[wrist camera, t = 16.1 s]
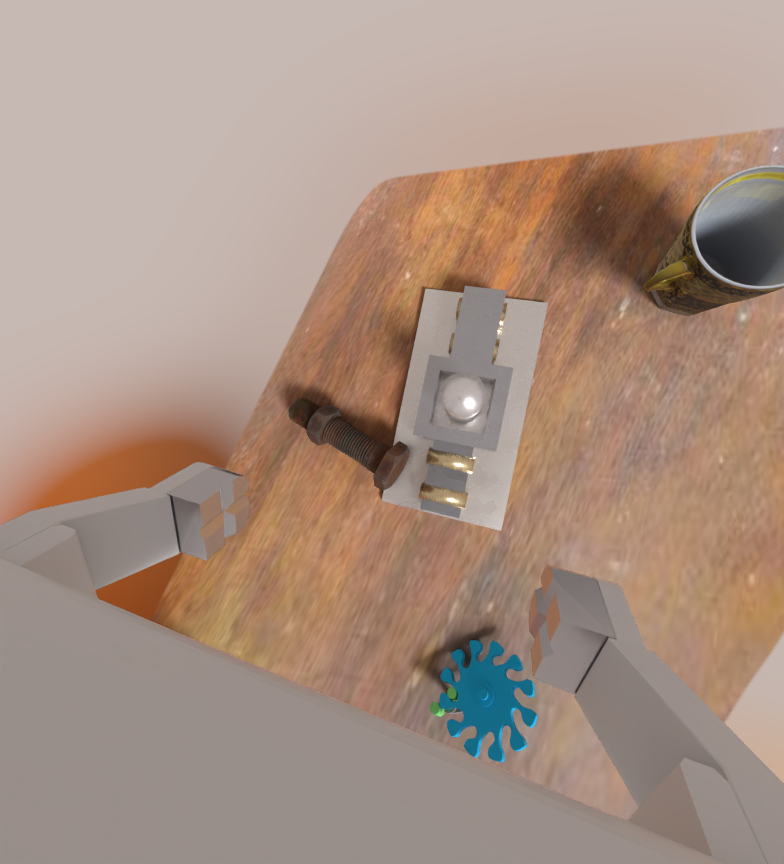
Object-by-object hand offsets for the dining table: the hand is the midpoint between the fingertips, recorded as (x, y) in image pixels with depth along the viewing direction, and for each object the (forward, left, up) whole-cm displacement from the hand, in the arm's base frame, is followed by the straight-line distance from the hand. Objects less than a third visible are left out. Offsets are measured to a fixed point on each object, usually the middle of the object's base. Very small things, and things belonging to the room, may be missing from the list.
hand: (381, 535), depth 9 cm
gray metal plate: (+1, +8, -33) cm, 33 cm away
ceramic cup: (+20, +24, -33) cm, 45 cm away
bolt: (-12, +1, -32) cm, 34 cm away
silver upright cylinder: (+1, +7, -32) cm, 33 cm away
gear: (+8, -22, -33) cm, 40 cm away
